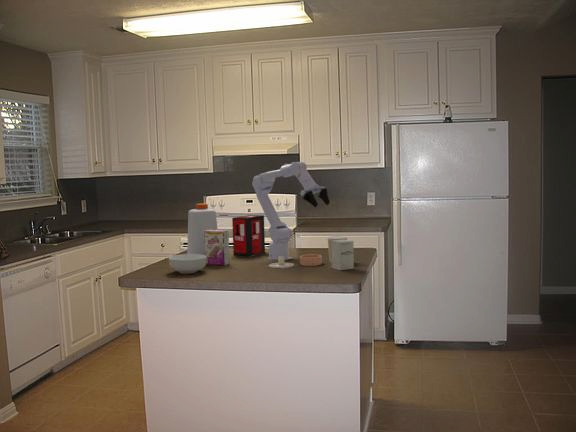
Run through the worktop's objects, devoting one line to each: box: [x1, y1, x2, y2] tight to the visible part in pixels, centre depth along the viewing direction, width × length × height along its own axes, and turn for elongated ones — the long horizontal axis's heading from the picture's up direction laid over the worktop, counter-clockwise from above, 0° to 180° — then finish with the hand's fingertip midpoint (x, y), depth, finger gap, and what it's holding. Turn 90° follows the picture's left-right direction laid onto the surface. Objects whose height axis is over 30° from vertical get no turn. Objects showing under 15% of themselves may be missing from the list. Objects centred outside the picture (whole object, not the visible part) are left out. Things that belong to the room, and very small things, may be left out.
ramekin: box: [299, 253, 322, 267], centre depth 269 cm, size 10×10×4 cm
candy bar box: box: [204, 229, 230, 266], centre depth 275 cm, size 11×5×16 cm, turn 65°
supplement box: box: [331, 239, 355, 271], centre depth 257 cm, size 7×7×13 cm
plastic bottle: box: [186, 203, 219, 255], centre depth 292 cm, size 15×15×28 cm
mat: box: [263, 263, 299, 270], centre depth 265 cm, size 12×12×1 cm
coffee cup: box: [326, 235, 348, 264], centre depth 272 cm, size 9×9×12 cm
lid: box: [268, 256, 295, 269], centre depth 265 cm, size 12×12×4 cm
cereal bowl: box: [168, 253, 207, 275], centre depth 258 cm, size 17×17×7 cm
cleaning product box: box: [231, 214, 266, 258], centre depth 303 cm, size 16×9×20 cm, turn 150°
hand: (322, 204), depth 263 cm, fingers open, 7 cm apart
